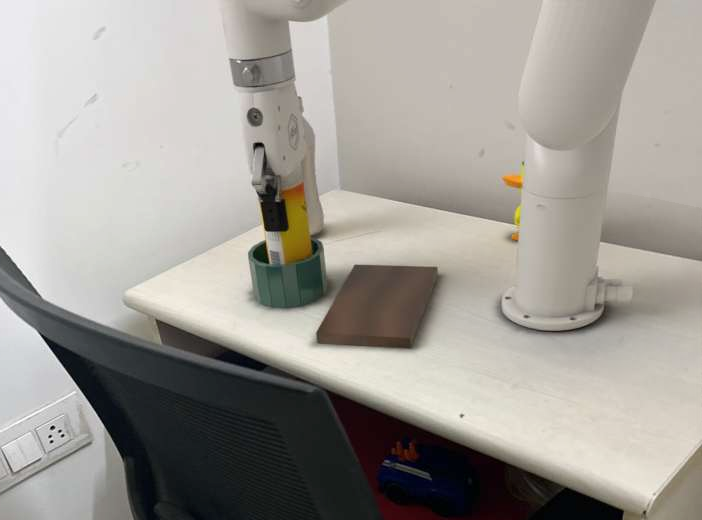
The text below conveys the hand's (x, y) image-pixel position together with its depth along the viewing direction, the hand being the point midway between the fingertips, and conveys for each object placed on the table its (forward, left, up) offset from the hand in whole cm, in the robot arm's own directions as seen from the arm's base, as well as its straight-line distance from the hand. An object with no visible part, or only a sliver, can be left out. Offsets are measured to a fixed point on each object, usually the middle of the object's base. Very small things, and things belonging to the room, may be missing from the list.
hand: (285, 219), depth 103 cm
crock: (+1, 0, -10) cm, 10 cm away
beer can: (0, 0, -7) cm, 7 cm away
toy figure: (-29, -20, -10) cm, 37 cm away
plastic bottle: (+5, -20, -10) cm, 23 cm away
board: (-13, +4, -10) cm, 17 cm away
